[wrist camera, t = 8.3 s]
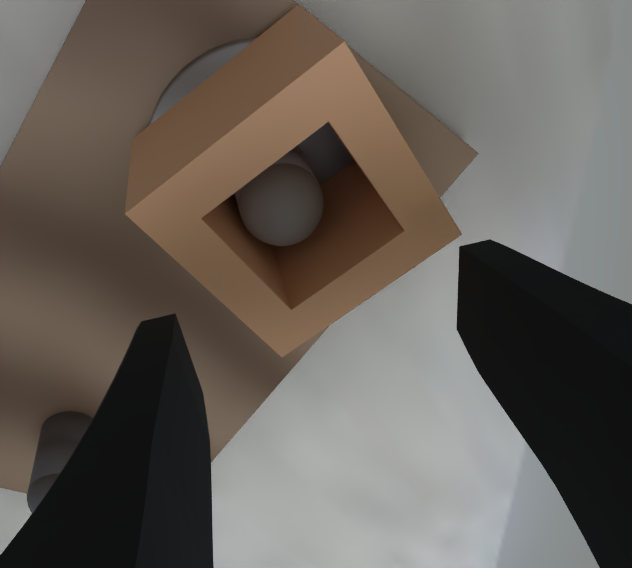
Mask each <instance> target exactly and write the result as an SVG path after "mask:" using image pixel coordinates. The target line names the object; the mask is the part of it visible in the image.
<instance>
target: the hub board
mask: <svg viewBox="0 0 632 568" xmlns="http://www.w3.org/2000/svg"><path fill="white" fill-rule="evenodd" d="M297 5H298V4H297V3H296V2H294V1H293V0H86V2H85V4H84V6H83V7H82V9H81V11H80V13H79V15H78V17H77V19H76V21H75V23H74V25H73V27H72V29H71V31H70V33H69V35H68V37H67V39H66V40H65V42H64V44H63V46H62V48H61V50H60V52H59V54H58V56H57V58H56V60H55V62H54V64H53V66H52V68H51V70H50V72H49V73H48V75H47V77H46V79H45V81H44V83H43V85H42V87H41V89H40V91H39V93H38V95H37V97H36V99H35V101H34V103H33V105H32V106H31V108H30V110H29V112H28V114H27V116H26V118H25V120H24V122H23V124H22V126H21V128H20V130H19V132H18V134H17V136H16V138H15V139H14V141H13V143H12V145H11V147H10V149H9V151H8V153H7V155H6V157H5V159H4V161H3V163H2V165H1V167H0V488H5V489H9V490H14V491H19V492H23V493H27V502H28V506H29V509H30V511H31V512H32V513H33V512H34V510H35V509H36V508H37V506H38V505H39V503H40V502H41V500H42V499H43V498H44V496H45V495H46V493H47V492H48V490H49V489H50V487H51V486H52V484H53V483H54V482H55V480H56V478H57V477H58V475H59V474H60V472H61V471H62V469H63V468H64V466H65V465H66V463H67V461H68V460H69V458H70V456H71V455H72V453H73V451H74V450H75V448H76V446H77V445H78V443H79V441H80V439H81V438H82V436H83V434H84V433H85V431H86V429H87V428H88V426H89V424H90V423H91V421H92V419H93V417H94V415H95V414H96V412H97V410H98V408H99V406H100V404H101V402H102V400H103V398H104V396H105V394H106V392H107V391H108V389H109V387H110V385H111V383H112V381H113V379H114V377H115V375H116V373H117V371H118V368H119V366H120V364H121V362H122V360H123V358H124V356H125V354H126V351H127V349H128V347H129V345H130V342H131V340H132V338H133V336H134V333H135V331H136V329H137V327H138V326H139V324H140V323H141V321H145V320H149V319H153V318H158V317H162V316H166V315H170V314H175V313H176V316H177V319H178V322H179V325H180V327H181V330H182V333H183V336H184V339H185V342H186V345H187V348H188V350H189V353H190V356H191V359H192V362H193V365H194V368H195V371H196V374H197V376H198V379H199V382H200V385H201V388H202V391H203V395H204V402H205V408H206V415H207V422H208V429H209V437H210V451H211V462H212V461H213V460H214V458H215V457H216V456H217V455H218V454H219V453H220V451H221V450H222V449H223V448H224V447H225V446H226V445H227V443H228V442H229V441H230V440H231V439H232V438H233V436H234V435H235V434H236V433H237V432H238V431H239V429H240V428H241V427H242V426H243V425H244V424H245V423H246V421H247V420H248V419H249V418H250V417H251V416H252V414H253V413H254V412H255V411H256V410H257V409H258V408H259V406H260V405H261V404H262V403H263V402H264V401H265V399H266V398H267V397H268V396H269V395H270V394H271V392H272V391H273V390H274V389H275V388H276V387H277V386H278V384H279V383H280V382H281V381H282V380H283V379H284V377H285V376H286V375H287V374H288V373H289V372H290V371H291V369H292V368H293V367H294V366H295V365H296V364H297V362H298V361H299V360H300V359H301V358H302V357H303V356H304V354H305V353H306V352H307V351H308V350H309V349H310V347H311V346H312V345H313V344H314V343H315V342H316V340H317V339H318V338H319V337H320V336H321V335H322V334H323V332H324V331H325V330H326V329H327V328H328V327H329V326H327V327H326V328H325V329H323V330H322V331H320V332H319V333H317V334H316V335H314V336H313V337H311V338H310V339H308V340H307V341H306V342H304V343H303V344H301V345H300V346H298V347H297V348H295V349H294V350H292V351H291V352H289V353H288V354H287V355H285V356H284V357H281V356H280V355H279V354H277V353H276V352H275V351H274V350H273V349H272V348H271V347H270V346H269V345H268V344H266V343H265V342H264V341H263V340H262V339H261V338H260V337H259V336H258V335H257V334H256V333H254V332H253V331H252V330H251V329H250V328H249V327H248V326H247V325H246V324H245V323H243V322H242V321H241V320H240V319H239V318H238V317H237V316H236V315H235V314H234V313H233V312H231V311H230V310H229V309H228V308H227V307H226V306H225V305H224V304H223V303H222V302H221V301H219V300H218V299H217V298H216V297H215V296H214V295H213V294H212V293H211V292H210V291H208V290H207V289H206V288H205V287H204V286H203V285H202V284H201V283H200V282H199V281H198V280H196V279H195V278H194V277H193V276H192V275H191V274H190V273H189V272H188V271H187V270H186V269H184V268H183V267H182V266H181V265H180V264H179V263H178V262H177V261H176V260H175V259H173V258H172V257H171V256H170V255H169V254H168V253H167V252H166V251H165V250H164V249H163V248H161V247H160V246H159V245H158V244H157V243H156V242H155V241H154V240H153V239H152V238H151V237H149V236H148V235H147V234H146V233H145V232H144V231H143V230H142V229H141V228H140V227H138V226H137V225H136V224H135V223H134V222H133V221H132V220H131V219H130V218H129V217H128V216H126V215H125V206H126V196H127V187H128V177H129V167H130V158H131V148H132V139H133V138H134V137H136V136H137V135H138V134H139V133H141V132H142V131H143V130H144V129H146V128H147V127H148V126H149V125H150V124H152V123H153V122H154V121H155V120H157V119H158V118H159V117H160V116H162V115H163V114H164V113H165V112H166V111H168V110H169V109H170V108H171V107H173V106H174V105H175V104H176V103H178V102H179V101H180V100H181V99H182V98H184V97H185V96H186V95H187V94H189V93H190V92H191V91H192V90H194V89H195V88H196V87H197V86H198V85H200V84H201V83H202V82H203V81H205V80H206V79H207V78H208V77H210V76H211V75H212V74H213V73H214V72H216V71H217V70H218V69H219V68H221V67H222V66H223V65H224V64H226V63H227V62H228V61H229V60H230V59H232V58H233V57H234V56H235V55H237V54H238V53H239V52H240V51H242V50H243V49H244V48H245V47H247V46H248V45H249V44H250V43H251V42H253V41H254V40H255V39H256V38H258V37H259V36H260V35H261V34H263V33H264V32H265V31H266V30H267V29H269V28H270V27H271V26H272V25H274V24H275V23H276V22H277V21H279V20H280V19H281V18H282V17H283V16H285V15H286V14H287V13H288V12H290V11H291V10H292V9H293V8H295V7H296V6H297ZM347 46H348V45H347ZM348 48H349V49H350V51H351V53H352V54H353V56H354V58H355V59H356V61H357V63H358V64H359V66H360V67H361V69H362V71H363V72H364V74H365V76H366V77H367V79H368V81H369V82H370V84H371V86H372V87H373V89H374V90H375V92H376V94H377V95H378V97H379V99H380V100H381V102H382V104H383V105H384V107H385V109H386V110H387V112H388V113H389V115H390V117H391V118H392V120H393V122H394V123H395V125H396V127H397V128H398V130H399V132H400V133H401V135H402V137H403V138H404V140H405V141H406V143H407V145H408V146H409V148H410V150H411V151H412V153H413V155H414V156H415V158H416V160H417V161H418V163H419V164H420V166H421V168H422V169H423V171H424V173H425V174H426V176H427V178H428V179H429V181H430V183H431V184H432V186H433V187H434V189H435V191H436V192H437V194H438V196H439V197H441V196H442V195H443V194H444V193H445V191H446V190H447V189H448V188H449V187H450V186H451V184H452V183H453V182H454V181H455V180H456V179H457V178H458V176H459V175H460V174H461V173H462V172H463V171H464V169H465V168H466V167H467V166H468V165H469V164H470V163H471V161H472V160H473V159H474V158H475V157H476V156H477V154H478V153H477V152H476V151H475V150H474V149H473V148H471V147H470V146H469V145H468V144H467V143H465V142H464V141H463V140H462V139H461V138H459V137H458V136H457V135H456V134H454V133H453V132H452V131H451V130H450V129H448V128H447V127H446V126H445V125H444V124H442V123H441V122H440V121H439V120H437V119H436V118H435V117H434V116H433V115H431V114H430V113H429V112H428V111H427V110H425V109H424V108H423V107H422V106H421V105H419V104H418V103H417V102H416V101H414V100H413V99H412V98H411V97H410V96H408V95H407V94H406V93H405V92H404V91H402V90H401V89H400V88H399V87H397V86H396V85H395V84H394V83H393V82H391V81H390V80H389V79H388V78H387V77H385V76H384V75H383V74H382V73H380V72H379V71H378V70H377V69H376V68H374V67H373V66H372V65H371V64H370V63H368V62H367V61H366V60H365V59H364V58H362V57H361V56H360V55H359V54H357V53H356V52H355V51H354V50H353V49H351V48H350V47H349V46H348ZM353 161H354V160H353V159H352V157H351V156H350V154H349V153H348V151H347V150H346V148H345V147H344V146H343V144H342V143H341V141H340V140H339V138H338V137H337V136H336V134H335V133H334V131H333V130H332V128H331V127H330V125H329V124H328V123H326V124H325V125H323V126H322V127H321V128H319V129H318V130H317V131H315V132H314V133H313V134H311V135H310V136H309V137H308V138H306V139H305V140H304V141H302V142H301V143H300V144H298V145H297V146H296V147H294V148H293V149H292V150H290V151H289V152H288V153H286V154H285V155H284V156H282V157H281V158H280V159H279V160H277V161H276V162H275V163H273V164H272V165H271V166H269V167H268V168H267V169H265V170H264V171H263V172H261V173H260V174H259V175H257V176H256V177H255V178H254V179H252V180H251V181H250V182H248V183H247V184H246V185H244V186H243V187H242V188H240V189H239V190H238V191H236V192H235V196H236V200H237V204H238V208H239V212H240V215H241V218H242V221H243V223H244V225H245V226H246V228H247V229H248V230H249V231H250V233H251V234H252V235H254V236H255V237H256V238H257V239H259V240H261V241H262V242H265V243H267V244H270V245H275V246H288V245H293V244H296V243H299V242H301V241H302V240H304V239H306V238H307V237H308V236H309V235H311V234H312V233H313V231H314V230H315V229H316V227H317V226H318V224H319V222H320V220H321V217H322V214H323V209H324V198H323V193H322V190H321V187H320V185H322V184H323V183H324V182H326V181H327V180H328V179H330V178H331V177H332V176H334V175H335V174H337V173H338V172H339V171H341V170H342V169H343V168H345V167H346V166H347V165H349V164H350V163H351V162H353Z"/></svg>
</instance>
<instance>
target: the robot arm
mask: <svg viewBox="0 0 632 568" xmlns="http://www.w3.org/2000/svg"><path fill="white" fill-rule="evenodd" d="M457 330H458V333H459V335H460V337H461V339H462V341H463V343H464V345H465V347H466V349H467V351H468V353H469V355H470V357H471V359H472V361H473V363H474V365H475V366H476V368H477V370H478V372H479V374H480V375H481V377H482V378H483V380H484V381H485V383H486V384H487V386H488V387H489V389H490V390H491V391H492V393H493V394H494V396H495V397H496V399H497V400H498V402H499V403H500V405H501V406H502V408H503V409H504V410H505V412H506V413H507V415H508V416H509V418H510V419H511V421H512V422H513V423H514V425H515V426H516V428H517V429H518V431H519V432H520V433H521V435H522V436H523V438H524V439H525V441H526V442H527V444H528V445H529V446H530V448H531V449H532V451H533V452H534V454H535V455H536V456H537V458H538V459H539V461H540V462H541V464H542V465H543V467H544V468H545V470H546V471H547V473H548V475H549V476H550V478H551V479H552V481H553V482H554V484H555V486H556V487H557V489H558V491H559V493H560V495H561V496H562V498H563V500H564V502H565V503H566V505H567V507H568V509H569V511H570V513H571V514H572V516H573V518H574V520H575V521H576V523H577V525H578V527H579V529H580V531H581V532H582V534H583V536H584V538H585V540H586V542H587V544H588V546H589V548H590V550H591V552H592V553H593V555H594V557H595V559H596V561H597V563H598V565H599V567H600V568H632V304H629V303H627V302H625V301H622V300H620V299H617V298H615V297H613V296H611V295H608V294H606V293H604V292H601V291H599V290H597V289H595V288H592V287H590V286H588V285H586V284H584V283H582V282H580V281H577V280H575V279H573V278H571V277H569V276H567V275H565V274H563V273H561V272H558V271H556V270H554V269H552V268H550V267H548V266H546V265H544V264H542V263H540V262H538V261H536V260H534V259H532V258H530V257H527V256H525V255H523V254H521V253H519V252H517V251H515V250H513V249H511V248H509V247H506V246H504V245H502V244H500V243H497V242H495V241H492V240H486V241H481V242H477V243H473V244H469V245H464V246H460V247H459V277H458V306H457ZM0 568H213V539H212V491H211V451H210V437H209V429H208V422H207V415H206V408H205V402H204V395H203V391H202V388H201V385H200V382H199V379H198V376H197V374H196V371H195V368H194V365H193V362H192V359H191V356H190V353H189V350H188V348H187V345H186V342H185V339H184V336H183V333H182V330H181V327H180V325H179V322H178V319H177V316H176V313H175V314H170V315H166V316H162V317H158V318H153V319H149V320H145V321H141V323H140V324H139V326H138V327H137V329H136V331H135V333H134V336H133V338H132V340H131V342H130V345H129V347H128V349H127V351H126V354H125V356H124V358H123V360H122V362H121V364H120V366H119V368H118V371H117V373H116V375H115V377H114V379H113V381H112V383H111V385H110V387H109V389H108V391H107V392H106V394H105V396H104V398H103V400H102V402H101V404H100V406H99V408H98V410H97V412H96V414H95V415H94V417H93V419H92V421H91V423H90V424H89V426H88V428H87V429H86V431H85V433H84V434H83V436H82V438H81V439H80V441H79V443H78V445H77V446H76V448H75V450H74V451H73V453H72V455H71V456H70V458H69V460H68V461H67V463H66V465H65V466H64V468H63V469H62V471H61V472H60V474H59V475H58V477H57V478H56V480H55V482H54V483H53V484H52V486H51V487H50V489H49V490H48V492H47V493H46V495H45V496H44V498H43V499H42V500H41V502H40V503H39V505H38V506H37V508H36V509H35V510H34V512H33V513H32V515H31V516H30V517H29V519H28V520H27V522H26V523H25V524H24V526H23V527H22V528H21V529H20V531H19V532H18V533H17V535H16V536H15V537H14V539H13V540H12V541H11V542H10V544H9V545H8V546H7V548H6V549H5V550H4V551H3V553H2V554H1V555H0Z"/></svg>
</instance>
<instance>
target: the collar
mask: <svg viewBox="0 0 632 568" xmlns="http://www.w3.org/2000/svg"><path fill="white" fill-rule="evenodd" d="M326 123H328V124H329V125H330V127H331V128H332V130H333V131H334V133H335V134H336V136H337V137H338V138H339V140H340V141H341V143H342V144H343V146H344V147H345V148H346V150H347V151H348V153H349V154H350V156H351V157H352V159H353V160H354V161H353V162H351V163H350V164H349V165H347V166H346V167H345V168H343V169H342V170H341V171H339V172H338V173H337V174H335V175H334V176H332V177H331V178H330V179H328V180H327V181H326V182H324V183H323V184H322V185H320V187H321V190H322V193H323V198H324V209H323V214H322V217H321V220H320V222H319V224H318V226H317V227H316V229H315V230H314V231H313V233H312V234H311V235H309V236H308V237H307V238H306V239H304V240H302V241H301V242H299V243H296V244H293V245H288V246H275V245H270V244H267V243H265V242H262V241H261V240H259V239H257V238H256V237H255V236H254V235H252V234H251V233H250V231H249V230H248V229H247V228H246V226H245V225H244V223H243V221H242V218H241V215H240V212H239V208H238V204H237V200H236V196H235V192H236V191H238V190H239V189H240V188H242V187H243V186H244V185H246V184H247V183H248V182H250V181H251V180H252V179H254V178H255V177H256V176H257V175H259V174H260V173H261V172H263V171H264V170H265V169H267V168H268V167H269V166H271V165H272V164H273V163H275V162H276V161H277V160H279V159H280V158H281V157H282V156H284V155H285V154H286V153H288V152H289V151H290V150H292V149H293V148H294V147H296V146H297V145H298V144H300V143H301V142H302V141H304V140H305V139H306V138H308V137H309V136H310V135H311V134H313V133H314V132H315V131H317V130H318V129H319V128H321V127H322V126H323V125H325V124H326ZM125 215H126V216H128V217H129V218H130V219H131V220H132V221H133V222H134V223H135V224H136V225H137V226H138V227H140V228H141V229H142V230H143V231H144V232H145V233H146V234H147V235H148V236H149V237H151V238H152V239H153V240H154V241H155V242H156V243H157V244H158V245H159V246H160V247H161V248H163V249H164V250H165V251H166V252H167V253H168V254H169V255H170V256H171V257H172V258H173V259H175V260H176V261H177V262H178V263H179V264H180V265H181V266H182V267H183V268H184V269H186V270H187V271H188V272H189V273H190V274H191V275H192V276H193V277H194V278H195V279H196V280H198V281H199V282H200V283H201V284H202V285H203V286H204V287H205V288H206V289H207V290H208V291H210V292H211V293H212V294H213V295H214V296H215V297H216V298H217V299H218V300H219V301H221V302H222V303H223V304H224V305H225V306H226V307H227V308H228V309H229V310H230V311H231V312H233V313H234V314H235V315H236V316H237V317H238V318H239V319H240V320H241V321H242V322H243V323H245V324H246V325H247V326H248V327H249V328H250V329H251V330H252V331H253V332H254V333H256V334H257V335H258V336H259V337H260V338H261V339H262V340H263V341H264V342H265V343H266V344H268V345H269V346H270V347H271V348H272V349H273V350H274V351H275V352H276V353H277V354H279V355H280V356H281V357H284V356H285V355H287V354H288V353H289V352H291V351H292V350H294V349H295V348H297V347H298V346H300V345H301V344H303V343H304V342H306V341H307V340H308V339H310V338H311V337H313V336H314V335H316V334H317V333H319V332H320V331H322V330H323V329H325V328H326V327H327V326H329V325H330V324H332V323H333V322H335V321H336V320H338V319H339V318H341V317H342V316H344V315H345V314H346V313H348V312H349V311H351V310H352V309H354V308H355V307H357V306H358V305H360V304H361V303H363V302H364V301H365V300H367V299H368V298H370V297H371V296H373V295H374V294H376V293H377V292H379V291H380V290H382V289H383V288H384V287H386V286H387V285H389V284H390V283H392V282H393V281H395V280H396V279H398V278H399V277H401V276H402V275H403V274H405V273H406V272H408V271H409V270H411V269H412V268H414V267H415V266H417V265H418V264H420V263H421V262H422V261H424V260H425V259H427V258H428V257H430V256H431V255H433V254H434V253H436V252H437V251H439V250H440V249H441V248H443V247H444V246H446V245H447V244H449V243H450V242H452V241H453V240H455V239H456V238H458V237H459V236H460V235H462V234H461V232H460V230H459V229H458V227H457V225H456V224H455V222H454V220H453V219H452V217H451V215H450V214H449V212H448V211H447V209H446V207H445V206H444V204H443V202H442V201H441V199H440V197H439V196H438V194H437V192H436V191H435V189H434V187H433V186H432V184H431V183H430V181H429V179H428V178H427V176H426V174H425V173H424V171H423V169H422V168H421V166H420V164H419V163H418V161H417V160H416V158H415V156H414V155H413V153H412V151H411V150H410V148H409V146H408V145H407V143H406V141H405V140H404V138H403V137H402V135H401V133H400V132H399V130H398V128H397V127H396V125H395V123H394V122H393V120H392V118H391V117H390V115H389V113H388V112H387V110H386V109H385V107H384V105H383V104H382V102H381V100H380V99H379V97H378V95H377V94H376V92H375V90H374V89H373V87H372V86H371V84H370V82H369V81H368V79H367V77H366V76H365V74H364V72H363V71H362V69H361V67H360V66H359V64H358V63H357V61H356V59H355V58H354V56H353V54H352V53H351V51H350V49H349V48H348V46H347V44H346V43H345V41H344V40H342V39H341V38H340V37H339V36H337V35H336V34H335V33H334V32H333V31H331V30H330V29H329V28H328V27H326V26H325V25H324V24H323V23H322V22H320V21H319V20H318V19H317V18H315V17H314V16H313V15H312V14H310V13H309V12H308V11H307V10H306V9H304V8H303V7H302V6H301V5H299V4H298V5H297V6H296V7H295V8H293V9H292V10H291V11H290V12H288V13H287V14H286V15H285V16H283V17H282V18H281V19H280V20H279V21H277V22H276V23H275V24H274V25H272V26H271V27H270V28H269V29H267V30H266V31H265V32H264V33H263V34H261V35H260V36H259V37H258V38H256V39H255V40H254V41H253V42H251V43H250V44H249V45H248V46H247V47H245V48H244V49H243V50H242V51H240V52H239V53H238V54H237V55H235V56H234V57H233V58H232V59H230V60H229V61H228V62H227V63H226V64H224V65H223V66H222V67H221V68H219V69H218V70H217V71H216V72H214V73H213V74H212V75H211V76H210V77H208V78H207V79H206V80H205V81H203V82H202V83H201V84H200V85H198V86H197V87H196V88H195V89H194V90H192V91H191V92H190V93H189V94H187V95H186V96H185V97H184V98H182V99H181V100H180V101H179V102H178V103H176V104H175V105H174V106H173V107H171V108H170V109H169V110H168V111H166V112H165V113H164V114H163V115H162V116H160V117H159V118H158V119H157V120H155V121H154V122H153V123H152V124H150V125H149V126H148V127H147V128H146V129H144V130H143V131H142V132H141V133H139V134H138V135H137V136H136V137H134V138H133V139H132V148H131V158H130V167H129V177H128V187H127V196H126V206H125Z"/></svg>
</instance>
